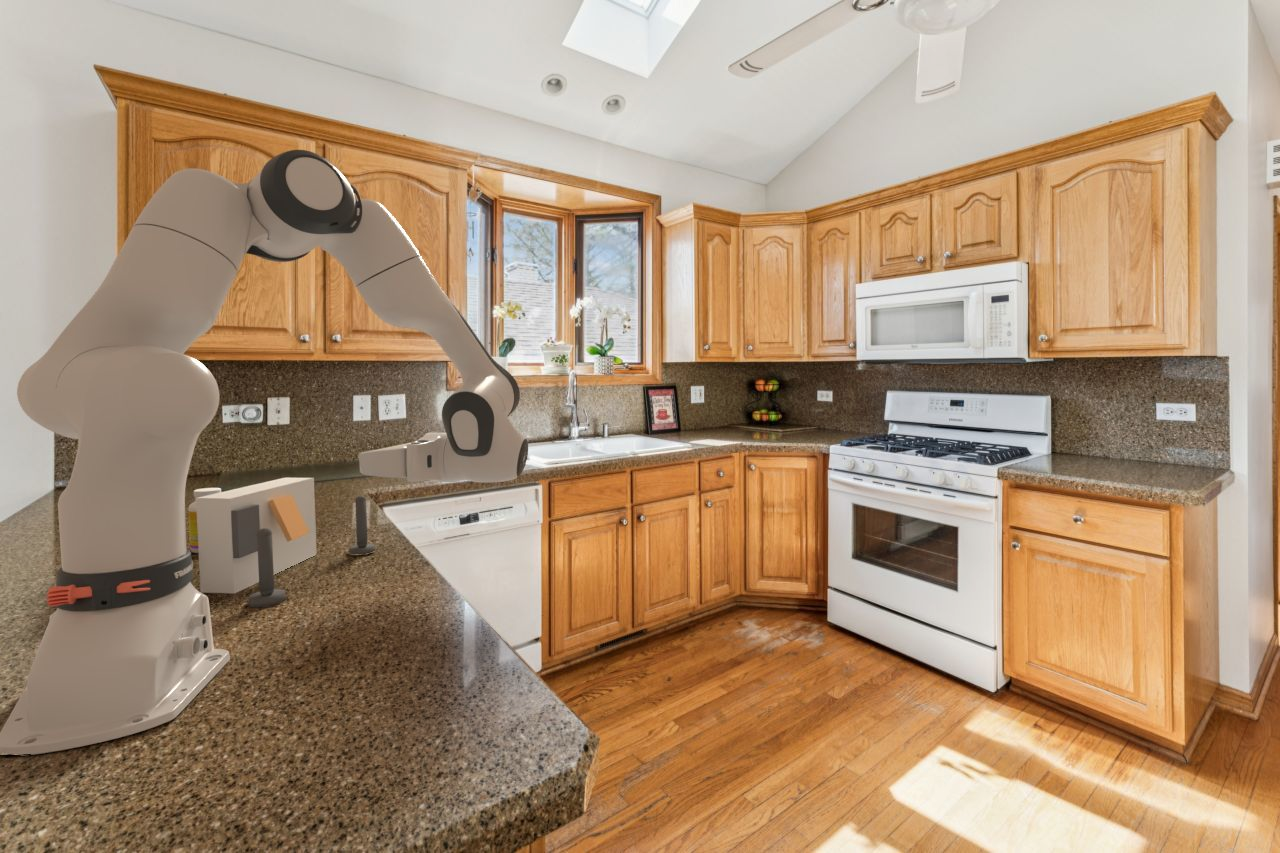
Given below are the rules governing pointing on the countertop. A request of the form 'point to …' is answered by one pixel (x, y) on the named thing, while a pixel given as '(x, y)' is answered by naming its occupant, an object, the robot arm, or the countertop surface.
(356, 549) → the post
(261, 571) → the post
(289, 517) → the orange paddle
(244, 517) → the black paddle
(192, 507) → the supplement bottle
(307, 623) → the countertop surface
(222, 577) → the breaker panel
